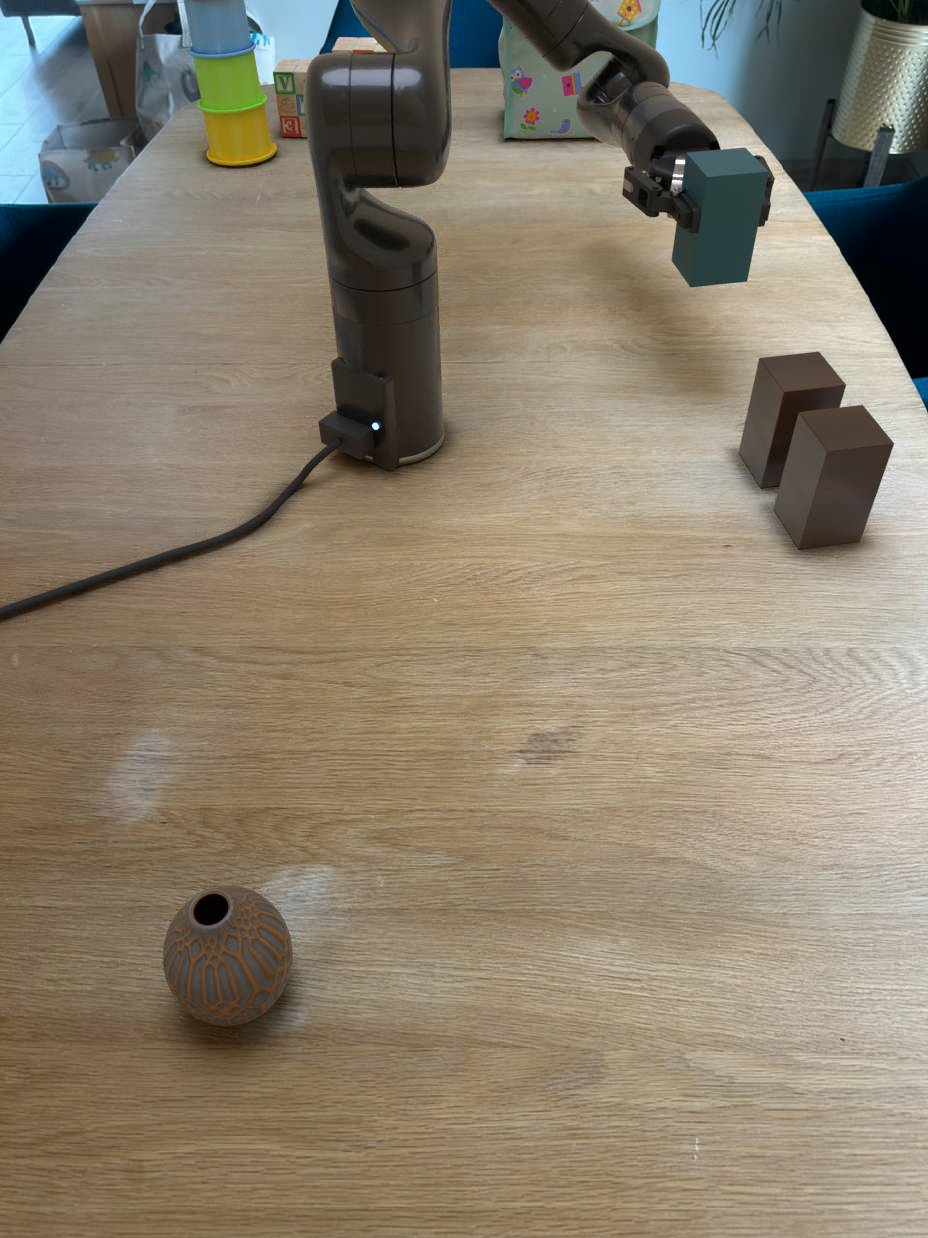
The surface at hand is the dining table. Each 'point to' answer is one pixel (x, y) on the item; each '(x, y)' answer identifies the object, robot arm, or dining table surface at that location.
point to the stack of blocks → (292, 81)
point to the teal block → (720, 216)
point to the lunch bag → (560, 74)
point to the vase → (227, 955)
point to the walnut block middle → (784, 409)
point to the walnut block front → (832, 476)
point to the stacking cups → (228, 82)
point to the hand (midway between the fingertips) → (729, 219)
